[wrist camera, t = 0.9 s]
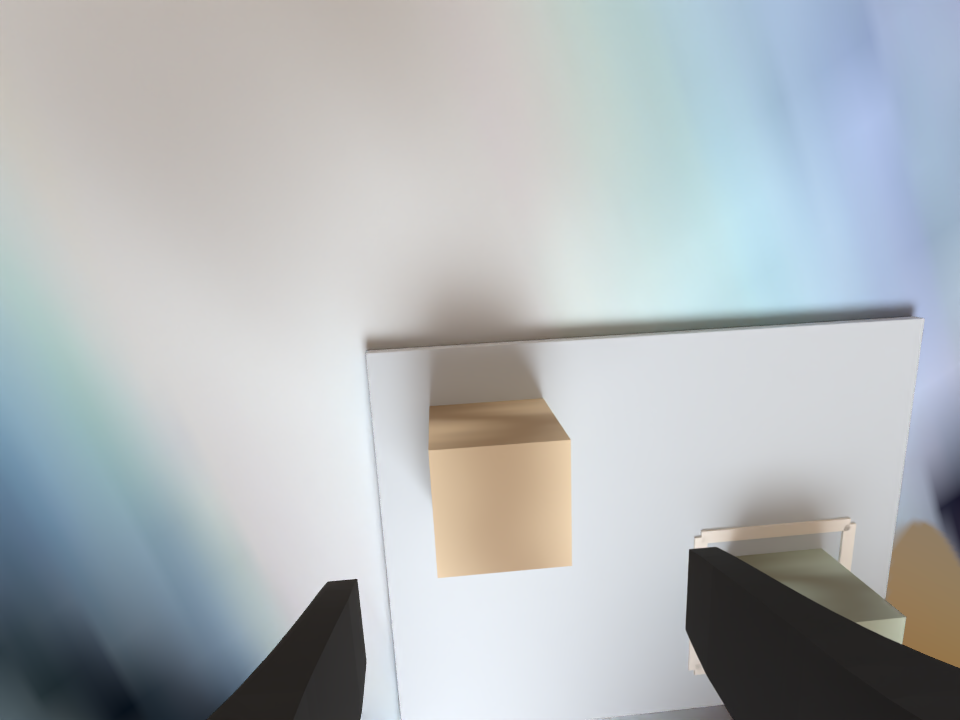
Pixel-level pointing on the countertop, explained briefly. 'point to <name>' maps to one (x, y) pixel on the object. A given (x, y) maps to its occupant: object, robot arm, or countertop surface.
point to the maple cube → (499, 487)
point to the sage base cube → (831, 588)
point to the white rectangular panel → (638, 501)
